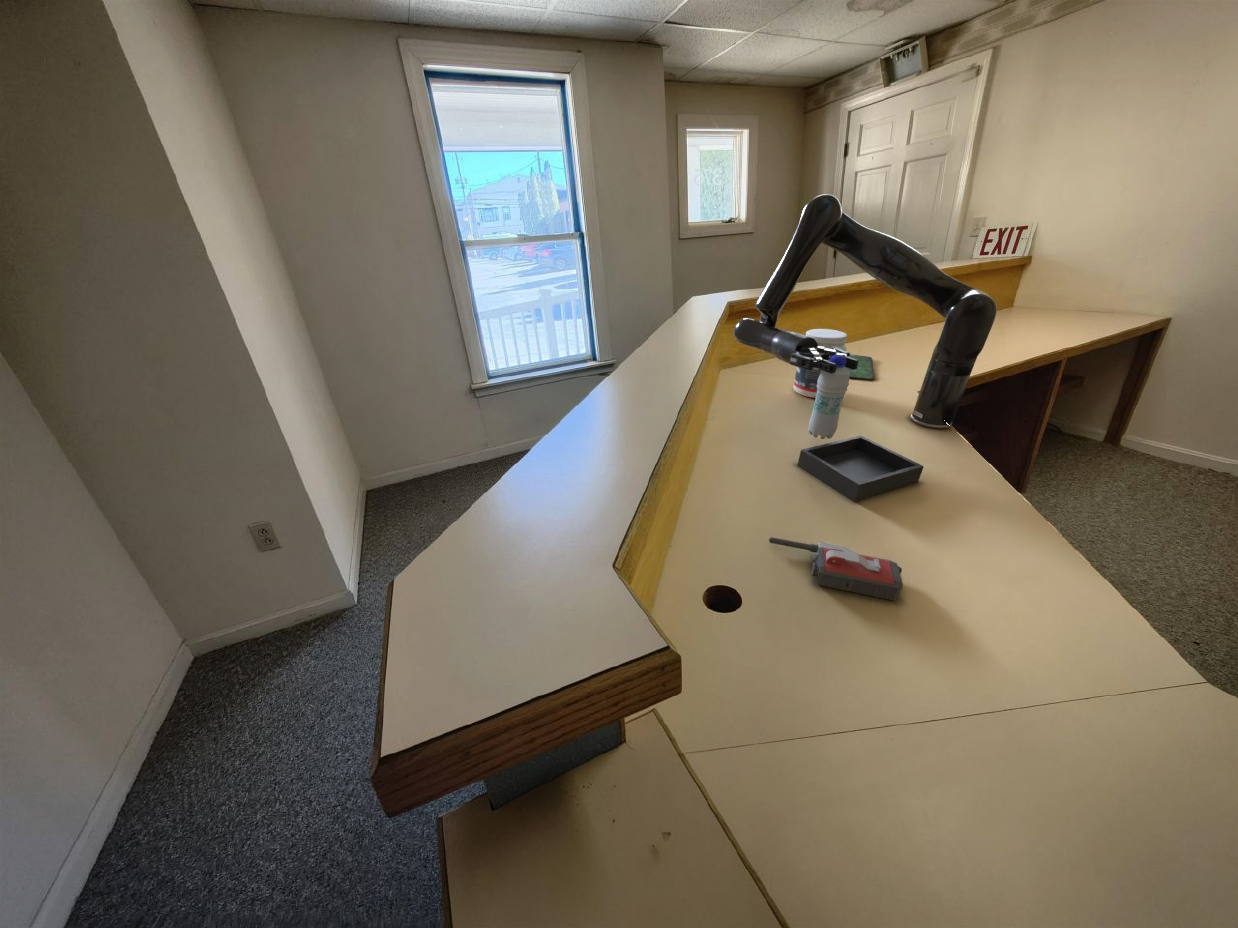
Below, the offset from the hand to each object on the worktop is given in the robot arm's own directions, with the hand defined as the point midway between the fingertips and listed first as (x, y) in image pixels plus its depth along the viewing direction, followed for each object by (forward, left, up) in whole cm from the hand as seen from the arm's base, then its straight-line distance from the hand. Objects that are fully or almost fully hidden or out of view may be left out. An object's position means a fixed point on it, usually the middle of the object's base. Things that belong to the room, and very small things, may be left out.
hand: (845, 367), depth 101 cm
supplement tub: (-24, -29, -20) cm, 43 cm away
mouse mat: (-52, -46, -20) cm, 72 cm away
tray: (+4, +13, -20) cm, 24 cm away
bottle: (0, -3, -18) cm, 18 cm away
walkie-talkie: (+32, +34, -20) cm, 50 cm away
